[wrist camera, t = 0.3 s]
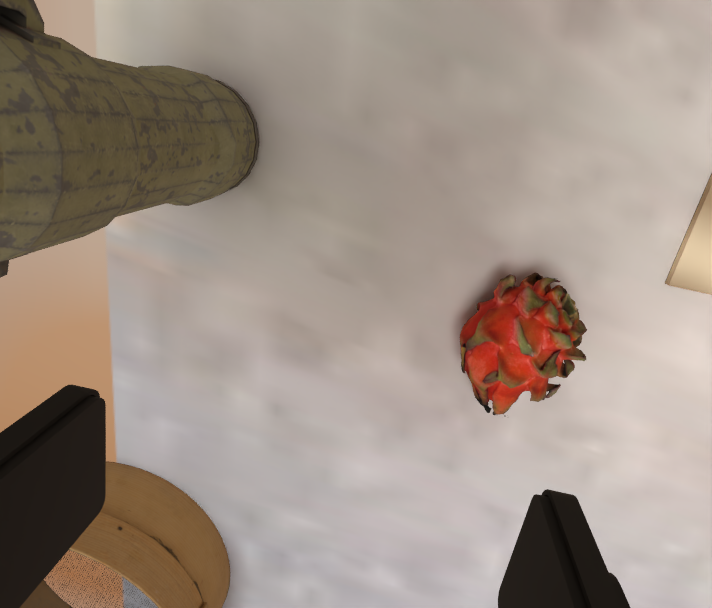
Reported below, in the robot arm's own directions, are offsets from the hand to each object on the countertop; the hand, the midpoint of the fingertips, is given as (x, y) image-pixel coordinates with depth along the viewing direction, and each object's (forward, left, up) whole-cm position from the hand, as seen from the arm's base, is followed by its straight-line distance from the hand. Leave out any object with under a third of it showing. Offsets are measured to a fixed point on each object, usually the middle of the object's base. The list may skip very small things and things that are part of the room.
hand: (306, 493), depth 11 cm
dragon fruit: (+6, +11, -31) cm, 34 cm away
